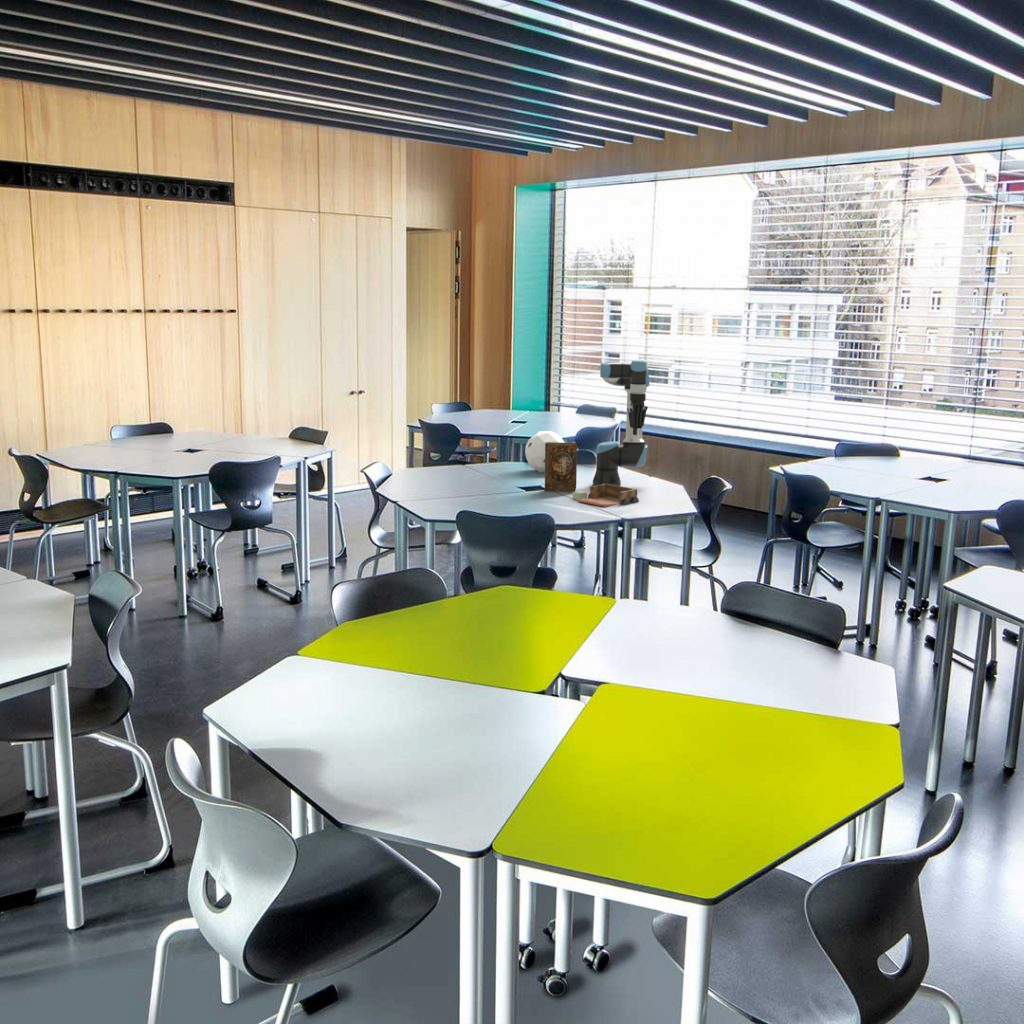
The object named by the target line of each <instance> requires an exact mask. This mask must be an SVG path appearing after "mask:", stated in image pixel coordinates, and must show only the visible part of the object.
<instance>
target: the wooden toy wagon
mask: <svg viewBox="0 0 1024 1024" xmlns="http://www.w3.org/2000/svg"><path fill="white" fill-rule="evenodd" d="M587 498H593V499H598V500H603V501H608V502H613V503H618V505H621V506H622V505H623V506H627V505H630V504H636V503H639V501H640V500H639V498H638V489H637V488H633V487H632V488H631V487H626V486H616V485H611V484H601V485H596V486H593V485H592V486H589V494H587Z"/></svg>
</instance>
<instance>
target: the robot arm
mask: <svg viewBox="0 0 1024 1024" xmlns="http://www.w3.org/2000/svg"><path fill="white" fill-rule="evenodd" d="M599 369H600V372H599V374H600V378H602V379H603V381H604V382H605V383H607V384H609V385H612V386H616V387H624V391H625V393H626V418H625V419H626V420H625V421H626V422H625V423H626V424H625V425H626V427H625V438H624V439H623V440H622V444H620V442H619V441H615V440H614V441H604V442H601V443H598V444H597V446H596V452H595V454H596V462H595V463H596V466H595V473H594V476H593V479H592V486H596V485H601V484H611V485H616V486H621V485H622V480H621V477H620V474H619V467H635V468H636V467H643V466H644V465H645V464H646V460H647V454H648V453H647V452H648V444H646V441H645V440H644V439H643V427H644V426H645V420H646V414H647V410H648V409H649V408H648V406H646V405H645V401H646V396H647V394H646V392H647V387H648V388H649V387H650V374H649V367H648V363H647V361H646V360H640V359H634V360H632V361H631V362H601V363H600V367H599Z"/></svg>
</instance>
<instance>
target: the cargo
mask: <svg viewBox="0 0 1024 1024" xmlns="http://www.w3.org/2000/svg"><path fill="white" fill-rule="evenodd" d="M586 498H588V492H587V491H582V490H576V491H575V492H572V500H576V501H577V499H586Z"/></svg>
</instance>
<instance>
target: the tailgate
mask: <svg viewBox="0 0 1024 1024" xmlns="http://www.w3.org/2000/svg"><path fill="white" fill-rule="evenodd" d="M576 501H577V502H579V503H584V504H585V503H586V504H591V505H595V506H600V507H612V506H616V505H619V504H618V503H613V502H608V501H603V500H598V499H593V498H588V497H587V498H586V499H577V500H576Z"/></svg>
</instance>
